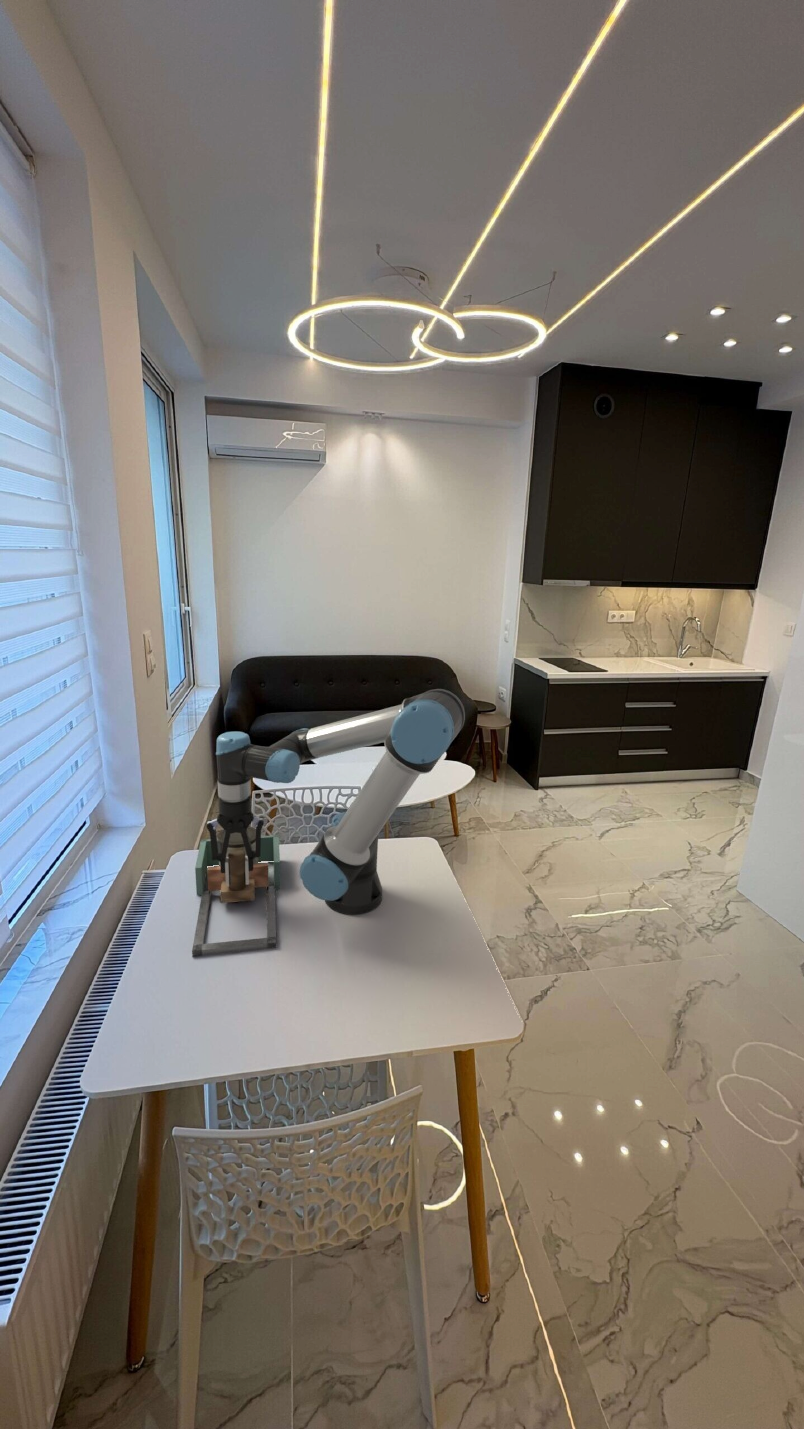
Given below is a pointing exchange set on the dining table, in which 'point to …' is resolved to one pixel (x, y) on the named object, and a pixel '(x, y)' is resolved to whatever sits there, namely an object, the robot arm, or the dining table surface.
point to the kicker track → (233, 946)
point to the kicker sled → (237, 879)
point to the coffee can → (238, 842)
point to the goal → (205, 859)
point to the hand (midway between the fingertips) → (237, 882)
